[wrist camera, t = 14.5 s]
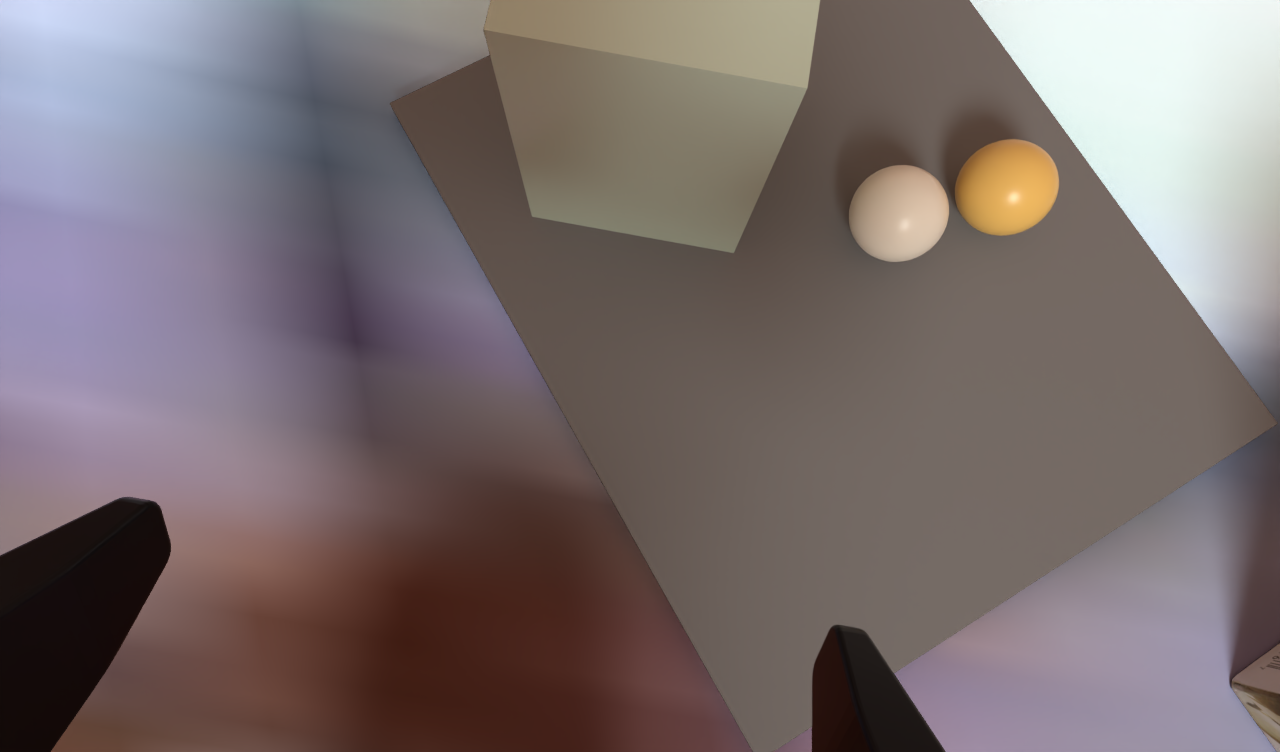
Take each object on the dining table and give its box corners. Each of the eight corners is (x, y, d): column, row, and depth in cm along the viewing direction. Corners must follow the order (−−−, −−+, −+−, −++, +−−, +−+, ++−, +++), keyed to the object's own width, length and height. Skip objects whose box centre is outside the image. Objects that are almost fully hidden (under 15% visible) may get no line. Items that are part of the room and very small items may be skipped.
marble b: (1043, 223, 25) (1100, 184, 22) (971, 264, 25) (1020, 230, 22) (993, 152, 26) (1041, 104, 23) (922, 191, 25) (963, 147, 22)
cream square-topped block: (762, 72, 26) (846, -180, 17) (733, 253, 25) (807, 88, 15) (571, 37, 26) (548, -234, 17) (531, 216, 25) (483, 29, 15)
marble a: (942, 248, 25) (986, 212, 22) (868, 290, 25) (903, 258, 22) (893, 176, 25) (929, 130, 22) (819, 216, 25) (847, 174, 22)
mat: (1261, 426, 25) (1278, 423, 24) (754, 755, 22) (758, 761, 22) (869, -116, 28) (874, -130, 28) (394, 113, 26) (389, 103, 25)
